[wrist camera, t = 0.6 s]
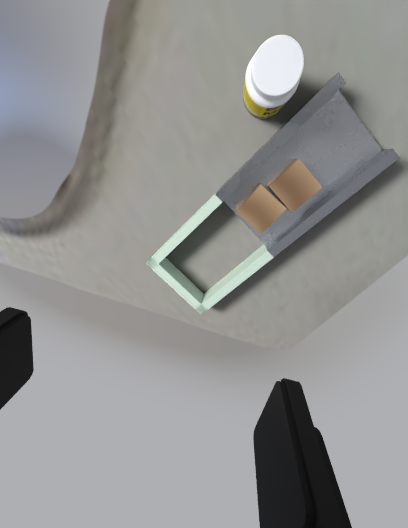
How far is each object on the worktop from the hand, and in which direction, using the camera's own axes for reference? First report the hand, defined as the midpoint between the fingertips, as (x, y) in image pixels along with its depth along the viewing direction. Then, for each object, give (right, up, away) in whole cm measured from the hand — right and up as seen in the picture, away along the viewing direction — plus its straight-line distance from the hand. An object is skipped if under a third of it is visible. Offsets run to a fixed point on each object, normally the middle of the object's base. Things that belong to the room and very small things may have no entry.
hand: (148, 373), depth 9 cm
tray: (+3, +6, +25) cm, 26 cm away
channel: (+13, +15, +21) cm, 28 cm away
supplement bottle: (+9, +23, +18) cm, 30 cm away
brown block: (+12, +13, +20) cm, 27 cm away
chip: (+9, +11, +21) cm, 26 cm away
